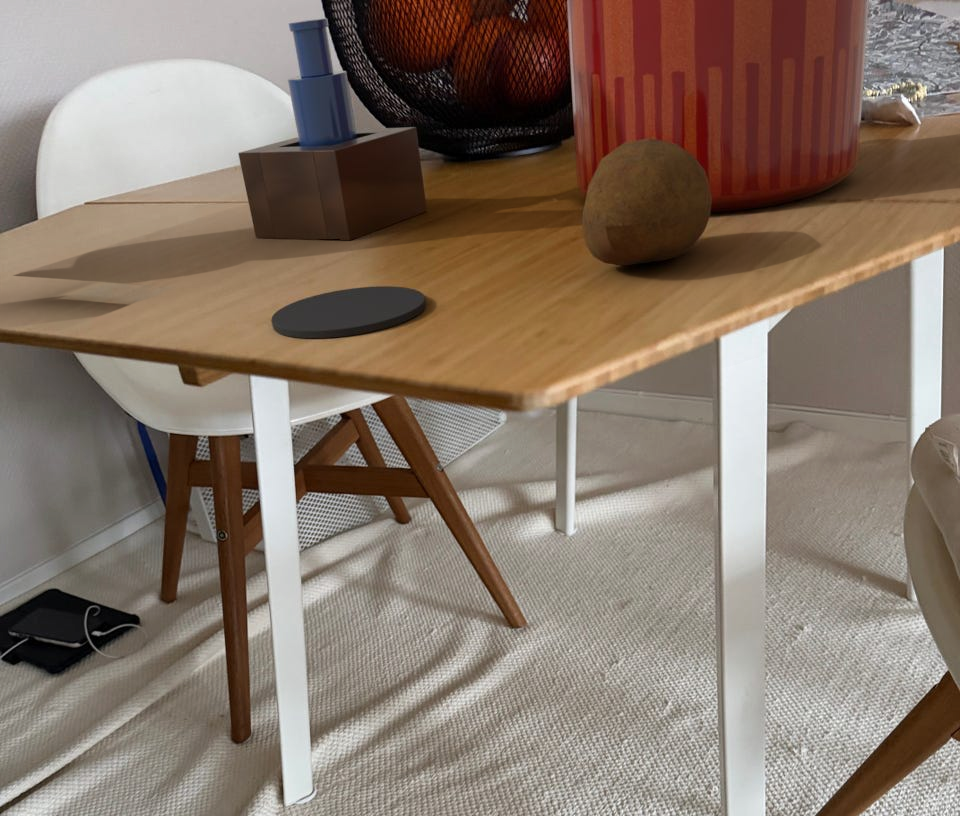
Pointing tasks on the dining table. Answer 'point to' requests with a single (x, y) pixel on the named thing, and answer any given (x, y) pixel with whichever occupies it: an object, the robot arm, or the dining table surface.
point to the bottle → (319, 89)
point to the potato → (645, 203)
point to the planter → (723, 89)
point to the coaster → (348, 312)
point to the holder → (334, 185)
